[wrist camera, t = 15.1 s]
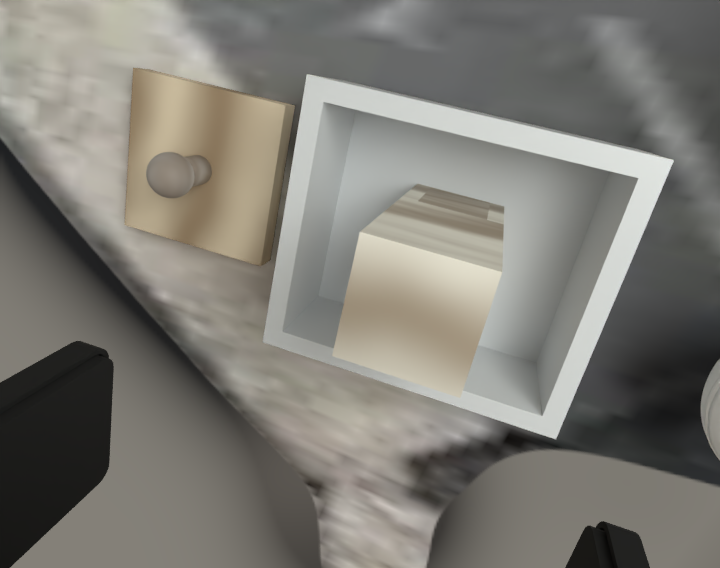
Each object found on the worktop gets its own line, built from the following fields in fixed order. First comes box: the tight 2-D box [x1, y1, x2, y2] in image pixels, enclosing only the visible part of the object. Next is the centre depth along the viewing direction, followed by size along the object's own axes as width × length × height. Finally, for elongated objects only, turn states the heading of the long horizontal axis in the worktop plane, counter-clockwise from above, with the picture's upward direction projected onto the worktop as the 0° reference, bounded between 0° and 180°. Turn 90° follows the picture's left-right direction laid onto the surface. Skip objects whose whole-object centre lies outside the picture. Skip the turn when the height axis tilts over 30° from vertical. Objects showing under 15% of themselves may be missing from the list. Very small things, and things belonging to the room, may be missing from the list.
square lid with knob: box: [125, 68, 295, 266], centre depth 32 cm, size 10×10×6 cm
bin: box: [263, 74, 674, 439], centre depth 29 cm, size 16×14×7 cm
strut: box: [332, 184, 504, 398], centre depth 25 cm, size 5×5×13 cm
